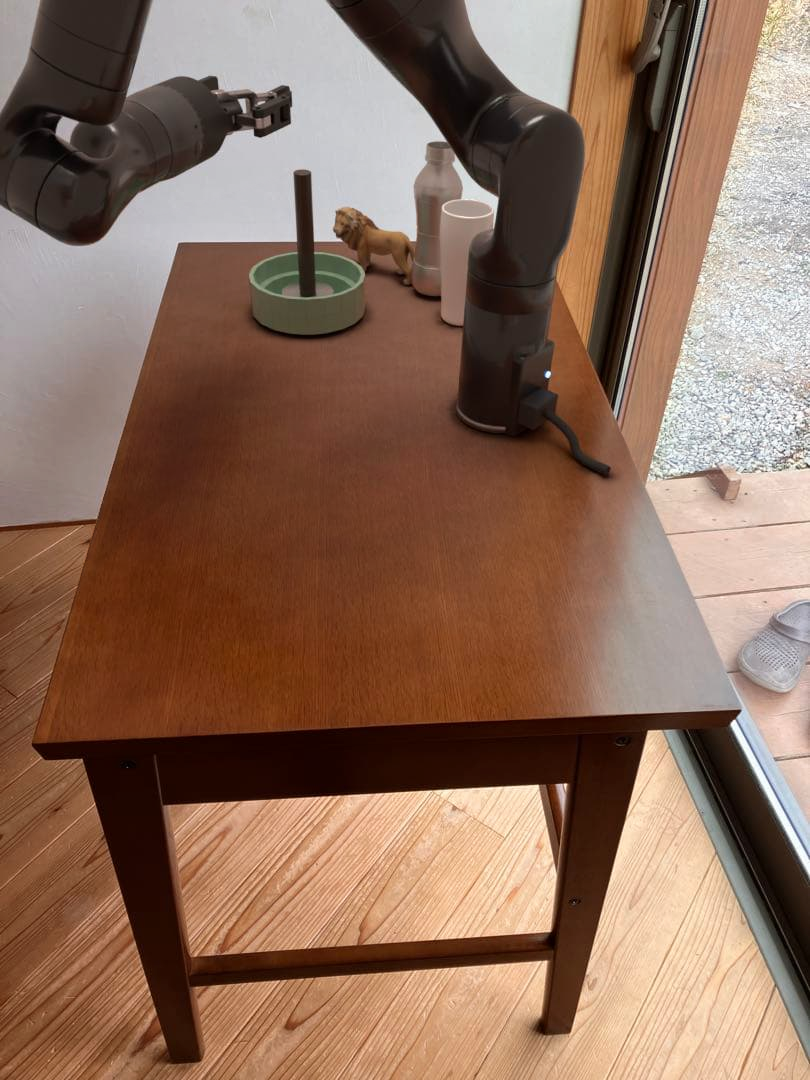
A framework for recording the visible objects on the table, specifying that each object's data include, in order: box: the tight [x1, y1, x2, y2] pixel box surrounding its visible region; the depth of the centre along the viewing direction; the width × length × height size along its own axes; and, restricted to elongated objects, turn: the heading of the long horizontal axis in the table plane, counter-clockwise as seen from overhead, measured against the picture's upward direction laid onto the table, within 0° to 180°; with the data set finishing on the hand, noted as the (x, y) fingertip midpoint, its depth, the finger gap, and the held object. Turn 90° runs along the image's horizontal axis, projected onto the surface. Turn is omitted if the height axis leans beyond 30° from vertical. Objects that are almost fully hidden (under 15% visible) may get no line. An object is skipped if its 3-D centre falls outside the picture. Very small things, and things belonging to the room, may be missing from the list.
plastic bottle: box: [411, 140, 464, 297], centre depth 120 cm, size 6×7×20 cm
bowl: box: [248, 251, 366, 336], centre depth 119 cm, size 15×15×6 cm
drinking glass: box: [440, 198, 495, 327], centre depth 116 cm, size 7×7×15 cm
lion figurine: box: [332, 206, 415, 286], centre depth 128 cm, size 15×5×9 cm, turn 70°
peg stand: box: [282, 169, 334, 297], centre depth 115 cm, size 7×7×18 cm
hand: (250, 91), depth 93 cm, fingers open, 8 cm apart
